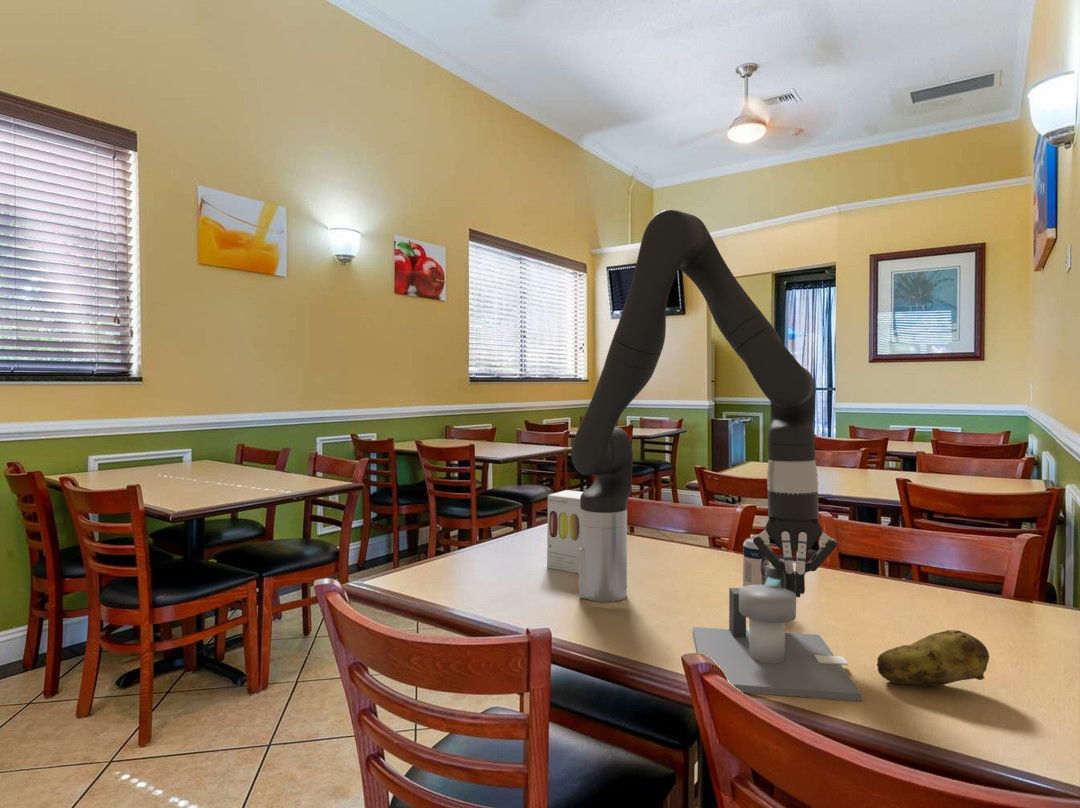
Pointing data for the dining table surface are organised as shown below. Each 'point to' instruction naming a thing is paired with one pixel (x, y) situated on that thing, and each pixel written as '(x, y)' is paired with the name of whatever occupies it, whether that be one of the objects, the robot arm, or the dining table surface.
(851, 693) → the post base
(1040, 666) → the dining table surface
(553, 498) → the supplement box
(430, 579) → the dining table surface
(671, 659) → the dining table surface
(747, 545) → the beer can
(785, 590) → the lever
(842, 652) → the dining table surface
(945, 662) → the potato
